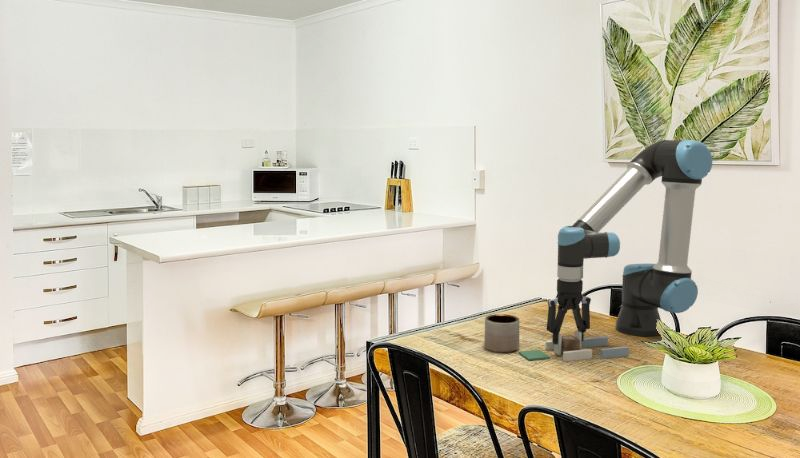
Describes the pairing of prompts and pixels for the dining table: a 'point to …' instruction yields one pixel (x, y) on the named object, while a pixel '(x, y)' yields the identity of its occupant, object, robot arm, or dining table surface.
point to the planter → (502, 333)
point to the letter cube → (569, 344)
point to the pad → (534, 355)
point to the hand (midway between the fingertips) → (567, 352)
